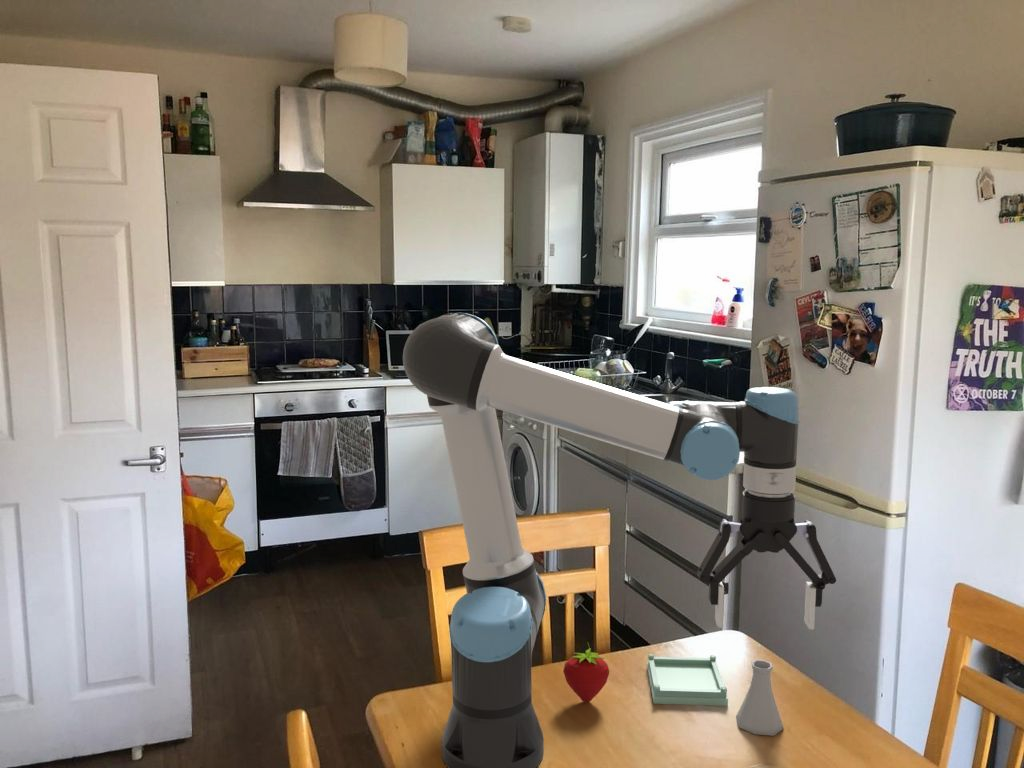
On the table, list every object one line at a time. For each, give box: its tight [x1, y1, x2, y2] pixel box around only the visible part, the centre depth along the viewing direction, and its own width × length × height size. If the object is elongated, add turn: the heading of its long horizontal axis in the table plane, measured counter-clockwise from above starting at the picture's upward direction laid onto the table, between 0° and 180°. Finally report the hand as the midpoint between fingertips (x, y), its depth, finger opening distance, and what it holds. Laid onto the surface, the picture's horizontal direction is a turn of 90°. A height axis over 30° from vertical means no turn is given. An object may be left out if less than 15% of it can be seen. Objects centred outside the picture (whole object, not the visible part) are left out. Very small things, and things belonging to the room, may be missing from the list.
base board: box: [646, 653, 729, 707], centre depth 141 cm, size 12×12×3 cm
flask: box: [735, 659, 784, 737], centre depth 129 cm, size 7×7×10 cm
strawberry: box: [563, 642, 610, 703], centre depth 136 cm, size 6×8×10 cm
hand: (763, 624), depth 127 cm, fingers open, 13 cm apart
